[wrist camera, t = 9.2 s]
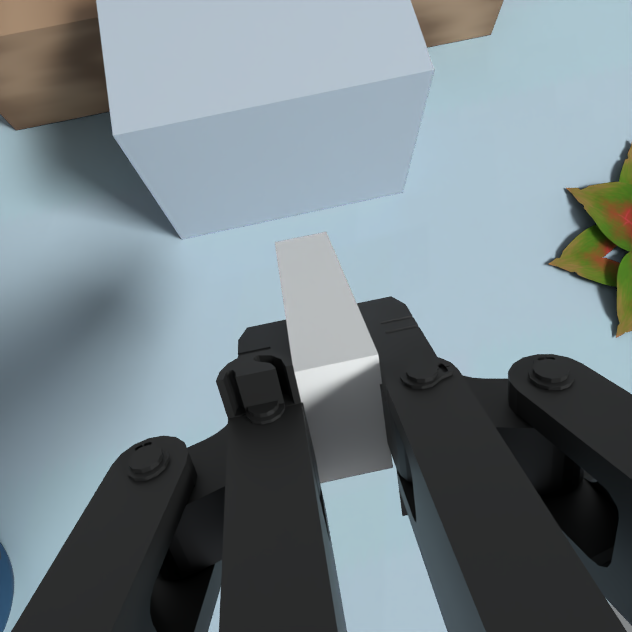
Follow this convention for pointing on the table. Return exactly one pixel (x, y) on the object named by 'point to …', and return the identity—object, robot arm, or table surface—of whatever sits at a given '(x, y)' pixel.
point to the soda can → (5, 587)
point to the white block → (264, 103)
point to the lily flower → (606, 240)
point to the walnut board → (88, 65)
